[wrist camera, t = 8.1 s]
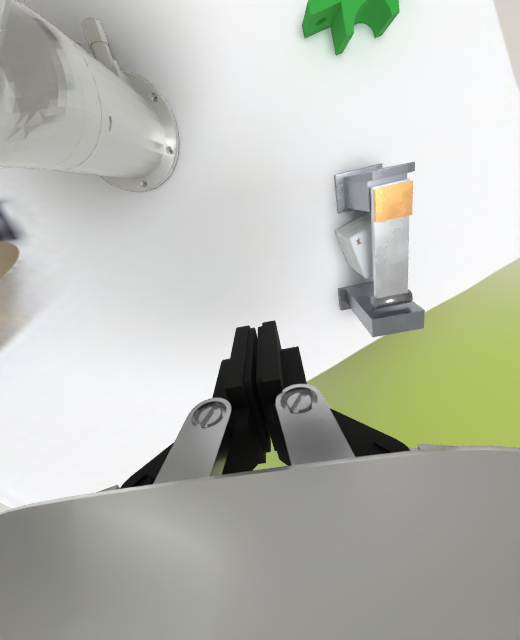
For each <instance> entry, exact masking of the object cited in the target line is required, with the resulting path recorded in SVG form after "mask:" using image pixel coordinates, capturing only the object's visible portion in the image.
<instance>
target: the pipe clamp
mask: <svg viewBox="0 0 520 640" xmlns="http://www.w3.org/2000/svg"><path fill="white" fill-rule="evenodd" d="M398 13H399V1H398V0H308V3H307V7H306V11H305V16H304V20H303V24H302V27H303V32H304V37H305V38H307V37H309V36H311V35H313V34H315V33H317V32H320V31H322V30H324V29H326V28H328V27H330V26H331V31H332V36H333V42H334V48H335V54H336V55H338V54H341V53H342V52H343V51H344V49H345V47H346V45H347V44H348V42H349V40H350V38H351V37H352V35H353V33H354V29H353V27H354V25H355V24H357V23H365V24H367V25H369V26H370V27H371V29H372V30H373V32H374V35H375V38H376V37H379V36H381V35H382V34H383V33H384V31H385V30H386V29H387V28H388V26H389V25H390V24H391V22H392V21H393V20H394V18H395V17H396V16H397V14H398Z"/></svg>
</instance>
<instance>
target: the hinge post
mask: <svg viewBox="0 0 520 640" xmlns="http://www.w3.org/2000/svg"><path fill="white" fill-rule="evenodd" d="M338 293H339V303H340V310H346V309H352V310H353V312H354V313H355V314H356V316H357V317H358V318H359V320H360V321H361V322H362V324H363V325H364V326H365V328H366V329H367V330H368V332H369V333H370V334H371V336H372V337H377V336H382V335H388V334H394V333H399V332H405V331H410V330H416V329H421V328H424V311H425V310H424V309H422V308H421V307H420V306H418V305H417V304H415V303H414V302H413V301H412V302H410V303H405V304H400V305H394V306H389V307H384V308H379V309H372V307H371V304H370V297H372V296H374V282H369V283H364V284H359V285H354V286H349V287H344V288H339V289H338Z"/></svg>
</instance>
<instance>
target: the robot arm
mask: <svg viewBox="0 0 520 640" xmlns="http://www.w3.org/2000/svg"><path fill="white" fill-rule="evenodd" d="M82 27H83V29H84V32H85V35H86V38H87V40H88V43H89V46H90V48H91V49H92V51H93V54H94V57H95V58H94V57H93V56H91V55H90V54H89V53H87V52H86V51H85V50H84V49H83V46H82V45H81V44H79V43H75V42H74V41H72V40H71V39H70V38H69V37H67V36H66V35H65V34H63V33H62V32H61V31H60V30H59V29H57V28H56V27H55V26H54V25H52V24H51V23H50V22H48V21H47V20H46V19H44V18H43V17H42V16H40V15H39V14H38V13H36V12H35V11H33V10H31V9H30V8H28V7H27V6H25V5H23V4H21V3H19V2H17V1H15V0H0V168H5V167H19V168H34V169H45V170H55V171H64V172H74V173H84V174H94V175H99V176H100V177H102V178H103V179H104V180H106V181H107V182H108V183H110V184H112V185H114V186H116V187H118V188H121V189H124V190H127V191H135V192H140V191H147V190H151V189H154V188H156V187H158V186H159V185H161V184H162V183H163V182H165V181H166V179H167V178H168V177H169V176H170V175H171V173H172V171H173V169H174V167H175V165H176V161H177V158H178V152H179V135H178V130H177V125H176V122H175V119H174V116H173V114H172V111H171V110H170V108H169V106H168V104H167V102H166V101H165V100H164V98H163V97H162V96H161V94H160V93H159V92H158V91H157V90H156V89H155V88H154V87H153V86H152V85H151V84H149V83H148V82H147V81H146V80H144V79H143V78H142V77H140V76H138V75H136V74H134V73H132V72H128V71H124V70H120V68H119V65H118V62H117V61H116V60H115V59H112V56H111V53H110V50H109V44H108V41H107V38H106V35H105V32H104V30H103V27H102V24H101V22H100V21H99V20H97V19H92V18H89V19H85V20H84V21H82ZM155 97H157V101H156V102H155V101H154V99H155ZM171 150H173V151H174V152H173V154H171V152H170V151H171ZM145 182H146V183H147V186H145ZM270 436H271V438H270ZM271 439H272V443H273V446H274V450H275V451H277V453H278V456H279V459H280V460H281V461H282V462H284V463H285V464H286V465H288V466H284V467H277V468H269V469H262V470H254V471H253V469H254V468H255V467H256V466H257V465H258V464H261V463H266V452H270V451H271ZM0 640H520V448H516V447H502V446H445V445H429V444H418V448H408V447H407V446H406V445H405V444H403V443H402V442H400V441H398V440H397V439H395V438H392V437H390V436H388V435H386V434H384V433H382V432H380V431H378V430H375V429H373V428H371V427H369V426H367V425H365V424H363V423H360V422H358V421H356V420H354V419H352V418H350V417H348V416H345V415H343V414H341V413H339V412H337V411H335V410H332V409H330V408H329V406H328V405H327V403H326V401H325V399H324V397H323V395H322V393H321V392H320V391H319V390H318V389H317V388H315V387H314V386H311V385H308V384H307V383H306V378H305V374H304V370H303V365H302V361H301V356H300V352H299V347H292V348H287V349H281V345H280V340H279V336H278V331H277V326H276V322H275V321H269V322H264V323H262V326H261V327H258V338H257V334H256V330H255V328H250V326H243V327H238V328H236V332H235V337H234V342H233V347H232V352H231V357H230V359H226V360H222V362H221V366H220V370H219V374H218V378H217V382H216V386H215V390H214V394H213V398H211V399H208V400H205V401H203V402H201V403H199V404H198V405H196V406H195V407H194V408H193V409H192V410H191V412H190V413H189V415H188V417H187V419H186V420H185V422H184V424H183V426H182V428H181V430H180V432H179V434H178V436H177V438H176V440H175V442H174V443H173V444H171V445H170V446H169V447H168V448H166V449H165V450H164V451H162V452H161V453H160V454H159V455H157V456H156V457H155V458H154V459H152V460H151V461H150V462H149V463H147V464H146V465H145V466H144V467H142V468H141V469H140V470H138V471H137V472H136V473H135V474H133V475H132V476H131V477H130V478H129V479H128V480H127V481H126V482H125V483H124V484H123V485H122V486H121V488H119V486H118V485H116V486H113V487H110V488H107V489H105V490H102V491H99V492H96V493H90V494H83V495H77V496H71V497H65V498H59V499H54V500H49V501H43V502H38V503H33V504H29V505H25V506H21V507H17V508H13V509H10V510H7V511H4V512H1V513H0Z"/></svg>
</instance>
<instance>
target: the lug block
mask: <svg viewBox="0 0 520 640" xmlns="http://www.w3.org/2000/svg"><path fill="white" fill-rule="evenodd" d="M413 171H415V162H411V163H406V164H401V165H396V166H391V167H386V168H382V164H378V165H374V166H370V167H366V168H362V169H357V170H353V171H349V172H345V173H341V174H337V175H334V176H335V187H336V199H337V210H338V213H341V212H346V211H350V210H354V209H356V210H361V211H366V212H371V195H370V187H374V186H378V185H382V184H386V183H391V182H395V181H399V180H403V179H407V173H408V172H413Z"/></svg>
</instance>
